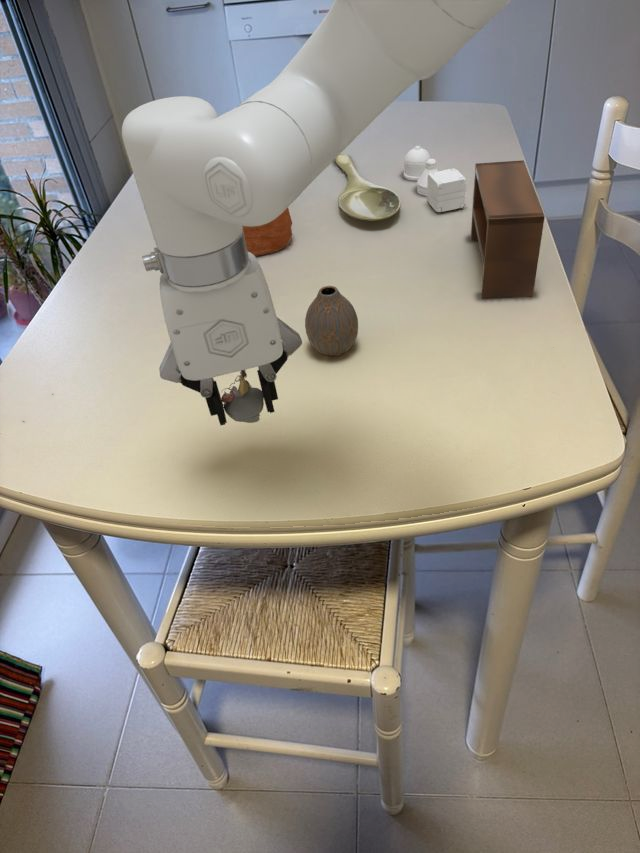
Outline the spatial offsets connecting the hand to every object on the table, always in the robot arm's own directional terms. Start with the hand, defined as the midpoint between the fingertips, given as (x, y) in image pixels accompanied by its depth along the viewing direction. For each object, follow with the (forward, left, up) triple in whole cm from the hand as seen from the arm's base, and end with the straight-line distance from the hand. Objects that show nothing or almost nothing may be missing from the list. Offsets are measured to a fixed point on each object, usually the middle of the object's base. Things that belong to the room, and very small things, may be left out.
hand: (245, 409), depth 69 cm
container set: (-43, -56, -7) cm, 71 cm away
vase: (-14, -16, -7) cm, 22 cm away
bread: (-7, -58, -7) cm, 59 cm away
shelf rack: (-42, -27, -7) cm, 51 cm away
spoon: (-31, -62, -7) cm, 70 cm away
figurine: (0, 0, -1) cm, 1 cm away
